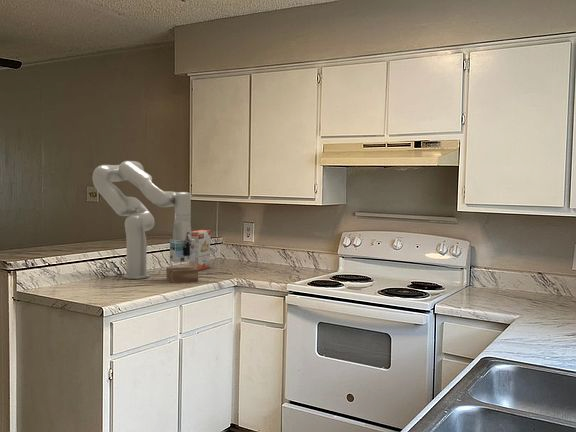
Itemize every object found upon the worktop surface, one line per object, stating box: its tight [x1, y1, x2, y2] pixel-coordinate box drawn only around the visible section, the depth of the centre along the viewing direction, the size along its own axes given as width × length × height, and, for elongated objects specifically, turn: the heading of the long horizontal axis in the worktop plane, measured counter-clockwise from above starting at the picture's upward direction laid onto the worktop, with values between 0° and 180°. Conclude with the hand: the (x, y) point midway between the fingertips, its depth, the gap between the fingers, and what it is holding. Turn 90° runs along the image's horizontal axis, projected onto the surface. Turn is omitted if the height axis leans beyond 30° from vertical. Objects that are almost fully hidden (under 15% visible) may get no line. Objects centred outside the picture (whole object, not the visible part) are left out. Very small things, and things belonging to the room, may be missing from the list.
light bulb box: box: [169, 238, 195, 263], centre depth 288 cm, size 11×7×11 cm, turn 127°
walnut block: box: [165, 265, 199, 284], centre depth 288 cm, size 12×12×6 cm
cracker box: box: [188, 229, 211, 272], centre depth 324 cm, size 14×6×21 cm, turn 161°
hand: (182, 254), depth 288 cm, fingers closed on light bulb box, 6 cm apart
